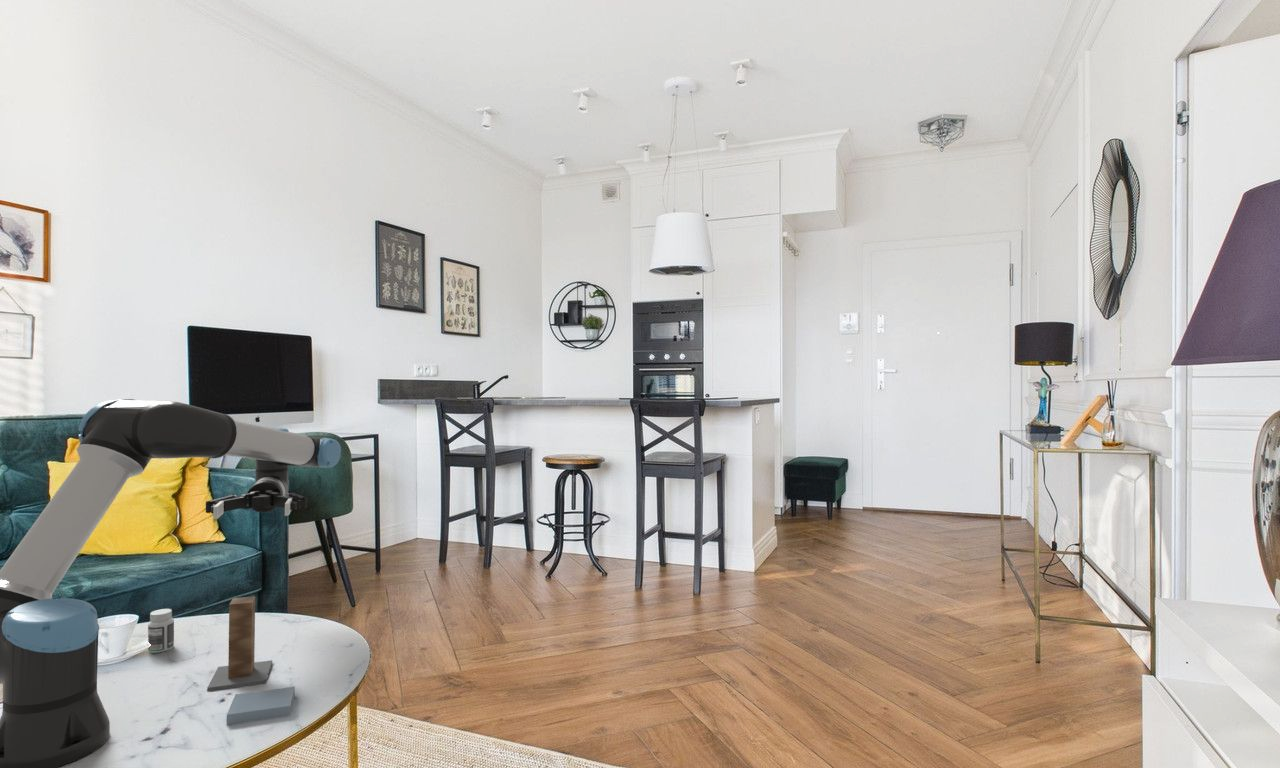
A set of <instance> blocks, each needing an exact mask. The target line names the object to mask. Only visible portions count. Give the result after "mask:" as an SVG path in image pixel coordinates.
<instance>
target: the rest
mask: <svg viewBox="0 0 1280 768" xmlns="http://www.w3.org/2000/svg"><path fill="white" fill-rule="evenodd" d="M271 665H273V660H272V659H270V660H264V661H254V670H253V672H252V675H251V676H247V677H239V678H231V679H228V665H222V666H218V667H217V669H216V671H214V675H213V676H212V678H211V680H210V682H209V683H208V685H207V687H206V688H207V689H206V691H207V692H209V691H216V690H217V691H218V690H222V689H223V690H224V689H231V688H239V687H246V686H253V685H262V684H263V685H264V684H266V682H267V679H268V677H269V675H270V671H271V668H272V666H271Z"/></svg>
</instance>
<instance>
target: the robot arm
mask: <svg viewBox="0 0 1280 768" xmlns="http://www.w3.org/2000/svg"><path fill="white" fill-rule="evenodd" d="M78 432H79V433H80V434H78V441H79V445H78V446H77V447H76V451H77V455H78V458H79V460H78V462H77V463H76V464H75V466H74V467H73V468H72V469H71V471H70V473H69V474H68V476H66V478H65V479H64V481H63V482H62V483H61V485H60V487H59V488H58V489H57V491H56V492H55V493H54V495H53V496H52V498H51V499H50V500H49V501H48V503H47V504H46V506H45V507H44V509H43V510H42V512H41V513H40V515H39V516H38V517H37V518H36V520H35V521H34V522H33V524H32V526H31V527H30V528H29V529H28V531H27V532H26V534H25V535H24V537H23V538H22V539H21V540H20V542H19V544H17V546H16V548H15V549H14V551H12V553H11V554H10V556H9V557H8V559H7V560H6V562H5V563H4V564H3V566H2V567H1V569H0V685H2V713H1V716H0V768H58V767H62V766H64V765H67V764H70V763H72V762H75V761H77V760H80V759H81V758H83V757H86V756H88V755H90V754H91V753H93V752H95V751H96V750H98V749H99V748H101V746H103V745H104V744H105V743H106V742H107V740H108V739H109V737H110V729H111V728H110V727H111V726H110V724H111V722H110V719H109V716H108V714H107V711H106V710H105V707H104V704H103V702H102V700H101V698H100V696H99V694H98V660H99V657H98V656H99V634H100V631H99V630H100V625H99V621H98V613H97V609H96V608H95V606H94V605H92V603H89V602H88V601H85V600H81V599H77V598H68V597H67V598H66V597H62V598H58V599H57V598H56V599H55V598H53V593H54V592H55V590H56V589H57V587H58V586H59V584H60V583H61V581H62V579H63V578H64V577H65V575H66V573H68V570H69V569H70V567H71V566H72V564H73V562H75V560H76V558H77V557H78V555H79V554H80V552H81V551H82V549H83V548H84V547H85V545H86V543H87V541H88V540H89V539H90V537H91V536H92V534H93V533H94V531H95V529H96V528H97V527H98V525H99V523H100V522H101V520H102V519H103V517H104V516H105V514H106V513H107V511H108V510H109V509H110V507H111V505H112V504H113V502H114V501H115V499H116V498H117V495H118V494H119V493H120V491H121V490H122V488H123V487H124V485H125V484H126V482H127V481H128V479H129V478H132V477H135V476H139V475H142V474H143V472H144V471H145V469H146V467H147V466H148V465H149V463H150V461H151V460H152V459H183V458H184V459H186V458H207V459H220V458H223V457H225V456H231V457H235V458H245V459H252V460H255V474H254V475H255V476H254V479H255V481H254V484H253V485H251V487H250V488H249V489H248V491H247V492H246V493H243V494H242V493H241V494H240V496H239V497H238V495H237V494H235V493H232V494H228V495H227V496H223V497H219V498H216V499H215V498H214V499H211V500H207V501H205V513H206V514H212V519H213V521H215V520H218V519H219V518H220V517H221V516H222V515H224V512H230V511H234V510H239V509H241V510H249V509H251V510H252V511H255V512H258V513H268V512H271V511H273V510H275V509H278V508H284V516H285V517H287V516H289V515H290V514H291V512H292V510H293V511H294V510H298V508H299V509H302V510H303V509H307V503H308V501H307V500H308V498H307V497H306V496H303V495H300V494H297V493H295V492H294V491H290V480H289V467H291V466H292V467H305V468H307V467H309V468H321V469H323V468H328V469H330V468H333V467H335V466H336V465H337V464H338V463H339V461H340V459H341V453H342V450H341V449H342V448H341V445H340V442H338V440H336V439H335V438H328V437H315V436H310V435H305V434H302V433H296V432H291V431H289V429H288V428H286V427H285V428H284V427H267V426H261V425H256V424H252V423H247V422H242V421H237V420H235V419H234V418H233V417H232V416H231V415H229V414H226V413H222V412H217V411H214V410H210V409H206V408H203V407H199V406H195V405H192V404H188V403H183V402H179V401H171V400H138V399H134V398H133V399H132V398H120V399H113V400H106V401H104V402H103V401H102V402H100V403H99V404H96V405H95V406H93V407H91V408H90V409H89V410H88V411H87V412H86V413H85V414H84V416H83V417H82V418H81V421H80V423H79V426H78ZM289 491H290V492H289ZM288 492H289V493H288Z"/></svg>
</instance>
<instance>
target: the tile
mask: <svg viewBox="0 0 1280 768" xmlns="http://www.w3.org/2000/svg"><path fill="white" fill-rule="evenodd" d="M295 697H296V686H289V687H288V686H287V687H286V686H285V687H280V688H279V687H278V688H274V689H266V690H258V691H251V692H244V693H243V692H242V693H235V695H234V697H233V699H232V701H231V704H230V706H229V709H228V711H227V712H226V726H228V725H236V724H243V723H249V722H257V721H261V720H262V721H263V720H268V719H275V718H282V717H283V718H284V717H290V716H291V713H292V709H293V705H294V701H295Z"/></svg>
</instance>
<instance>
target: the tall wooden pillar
mask: <svg viewBox="0 0 1280 768" xmlns="http://www.w3.org/2000/svg"><path fill="white" fill-rule="evenodd" d="M228 607H229V608H228V664H227V666H228V679H231V678H239V677H247V676H251V675H252V672H253V670H254V662H255V646H256V645H255V644H256V643H255V641H256V640H255V639H256V638H255V637H256V633H255V632H256V628H255V627H256V596H255V595H254V596H242V597H233V598H232V599H231V601H230V603H229V605H228Z"/></svg>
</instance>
